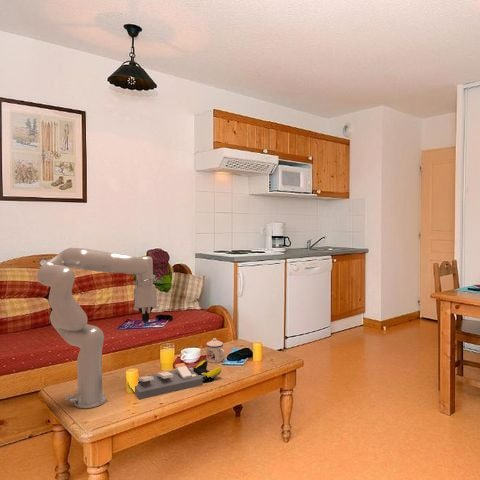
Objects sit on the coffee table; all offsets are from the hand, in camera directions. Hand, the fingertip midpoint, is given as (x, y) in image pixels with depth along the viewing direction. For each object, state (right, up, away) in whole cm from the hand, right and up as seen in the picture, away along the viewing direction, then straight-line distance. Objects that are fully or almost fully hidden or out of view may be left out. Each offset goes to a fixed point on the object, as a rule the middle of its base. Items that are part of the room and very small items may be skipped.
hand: (145, 321), depth 191 cm
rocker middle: (+11, -22, -8) cm, 26 cm away
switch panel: (+11, -27, -8) cm, 31 cm away
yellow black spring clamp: (+28, -27, +3) cm, 39 cm away
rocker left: (+3, -23, -13) cm, 26 cm away
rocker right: (+18, -22, -4) cm, 29 cm away
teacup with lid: (+32, -26, +24) cm, 48 cm away
